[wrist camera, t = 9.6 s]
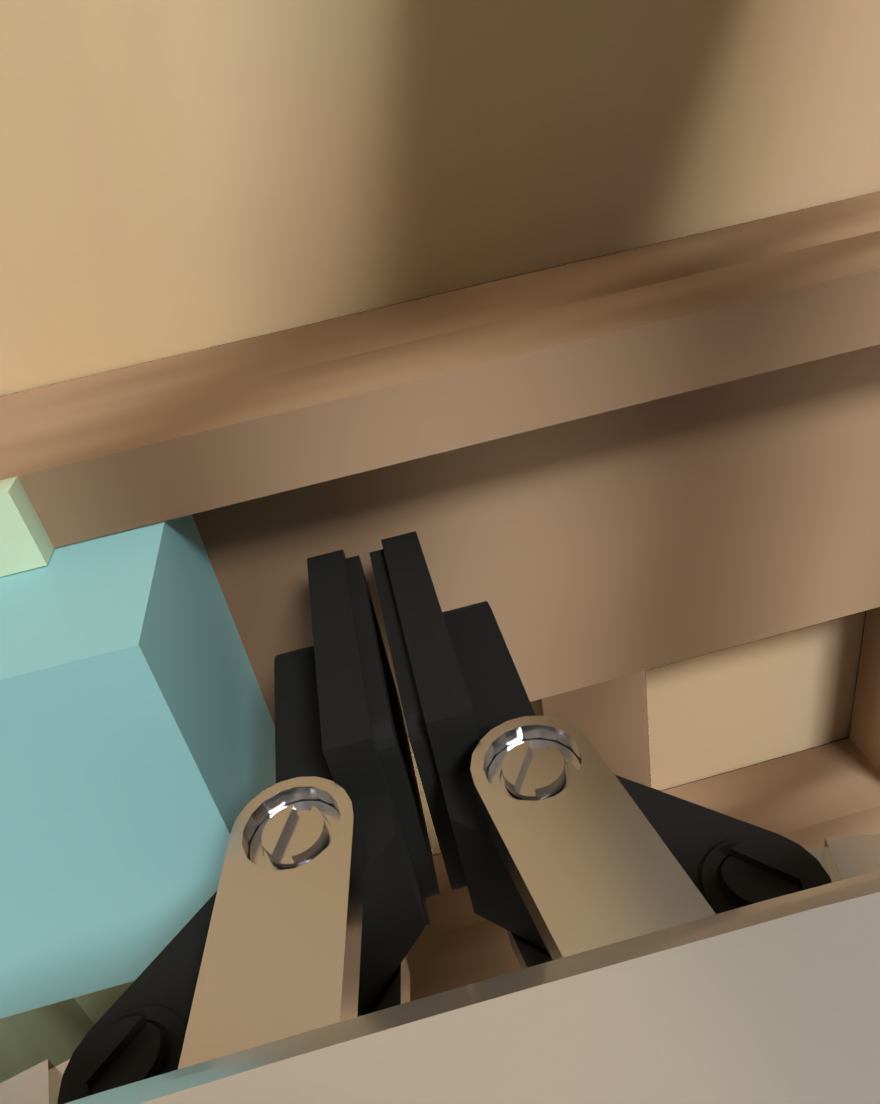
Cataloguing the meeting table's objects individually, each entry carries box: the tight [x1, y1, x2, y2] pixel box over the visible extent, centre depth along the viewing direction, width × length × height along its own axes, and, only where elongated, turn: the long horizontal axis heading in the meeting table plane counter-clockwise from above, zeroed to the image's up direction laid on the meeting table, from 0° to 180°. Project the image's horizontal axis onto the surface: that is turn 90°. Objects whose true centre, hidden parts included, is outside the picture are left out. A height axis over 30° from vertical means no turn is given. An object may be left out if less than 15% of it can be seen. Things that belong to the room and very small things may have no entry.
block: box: [0, 514, 276, 1019], centre depth 11 cm, size 5×5×4 cm
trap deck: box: [0, 192, 880, 1083], centre depth 15 cm, size 30×14×4 cm, turn 101°
